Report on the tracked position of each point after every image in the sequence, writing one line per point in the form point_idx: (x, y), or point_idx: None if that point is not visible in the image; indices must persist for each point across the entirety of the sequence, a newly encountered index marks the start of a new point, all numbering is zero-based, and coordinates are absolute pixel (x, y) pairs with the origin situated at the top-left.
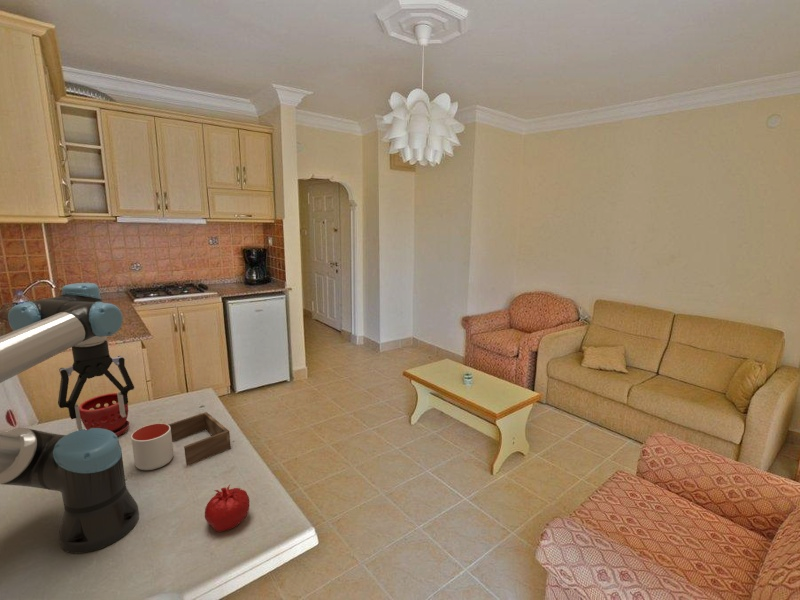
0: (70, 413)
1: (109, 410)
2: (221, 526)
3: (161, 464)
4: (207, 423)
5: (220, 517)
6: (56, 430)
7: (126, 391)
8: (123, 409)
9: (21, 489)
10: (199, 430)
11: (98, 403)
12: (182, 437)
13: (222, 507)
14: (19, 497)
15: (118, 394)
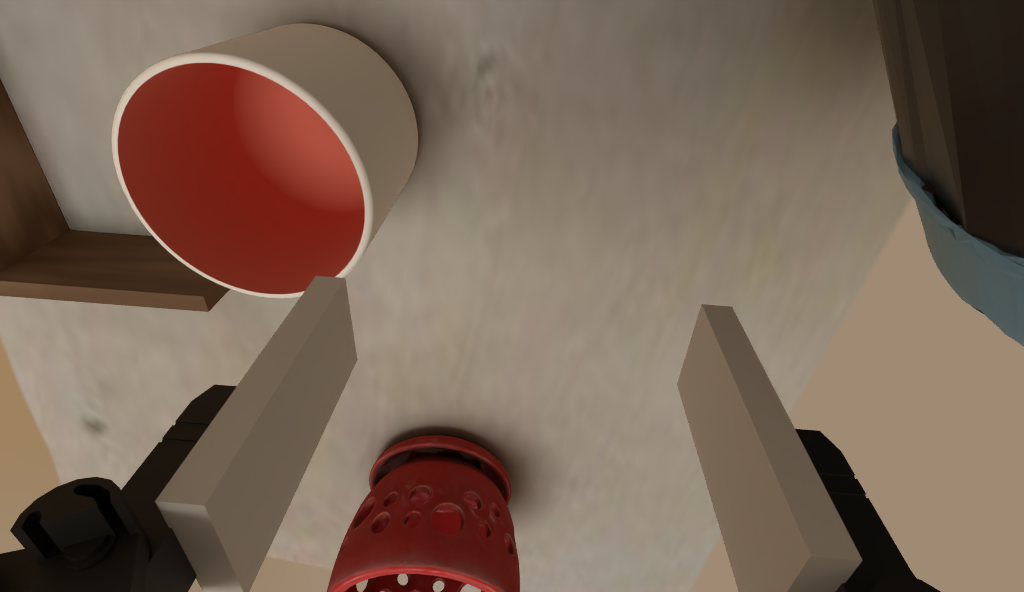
0: (865, 503)
1: (414, 548)
2: None
3: (300, 23)
4: (15, 225)
5: None
6: (567, 576)
7: (59, 545)
8: (290, 332)
9: (788, 333)
10: (95, 237)
11: None
12: None
13: None
14: (820, 285)
15: (225, 552)
